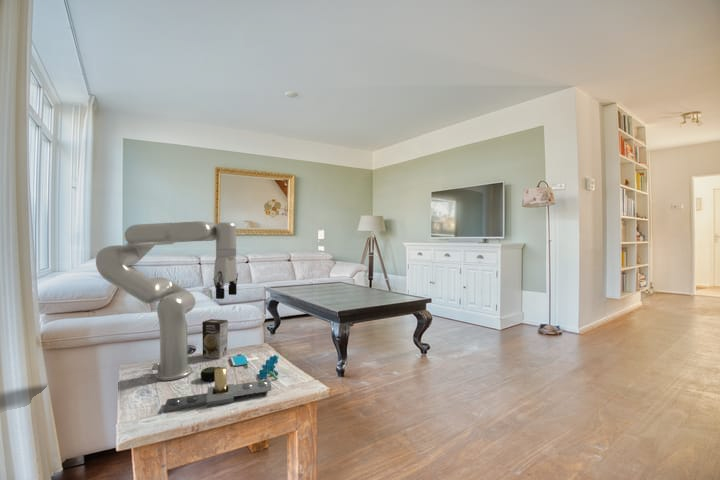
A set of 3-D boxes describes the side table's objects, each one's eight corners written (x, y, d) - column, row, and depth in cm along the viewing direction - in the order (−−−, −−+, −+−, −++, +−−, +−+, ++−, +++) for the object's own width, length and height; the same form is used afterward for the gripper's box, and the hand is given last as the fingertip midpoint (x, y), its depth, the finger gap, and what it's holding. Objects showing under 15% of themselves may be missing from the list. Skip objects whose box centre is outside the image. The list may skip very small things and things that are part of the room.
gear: (256, 368, 137) (274, 349, 138) (267, 377, 139) (285, 358, 140) (257, 383, 127) (277, 362, 128) (269, 392, 129) (288, 371, 130)
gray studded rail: (163, 414, 105) (163, 402, 105) (168, 402, 113) (167, 391, 113) (271, 396, 116) (271, 385, 116) (269, 386, 124) (269, 376, 124)
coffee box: (201, 357, 155) (201, 321, 155) (211, 353, 162) (210, 318, 162) (219, 359, 153) (219, 322, 153) (228, 354, 160) (228, 319, 160)
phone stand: (263, 366, 145) (263, 362, 145) (233, 372, 139) (233, 368, 139) (254, 353, 163) (254, 349, 163) (227, 357, 157) (227, 353, 157)
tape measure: (217, 382, 129) (217, 372, 129) (198, 383, 128) (198, 373, 128) (222, 375, 136) (222, 365, 136) (203, 376, 135) (203, 366, 135)
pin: (212, 401, 113) (212, 371, 113) (218, 396, 116) (218, 366, 116) (223, 402, 112) (223, 371, 112) (228, 397, 116) (228, 367, 116)
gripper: (228, 252, 147) (228, 293, 147) (205, 254, 130) (205, 300, 130) (245, 252, 146) (245, 293, 146) (224, 254, 129) (224, 300, 129)
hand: (226, 296), depth 138 cm, fingers open, 9 cm apart
